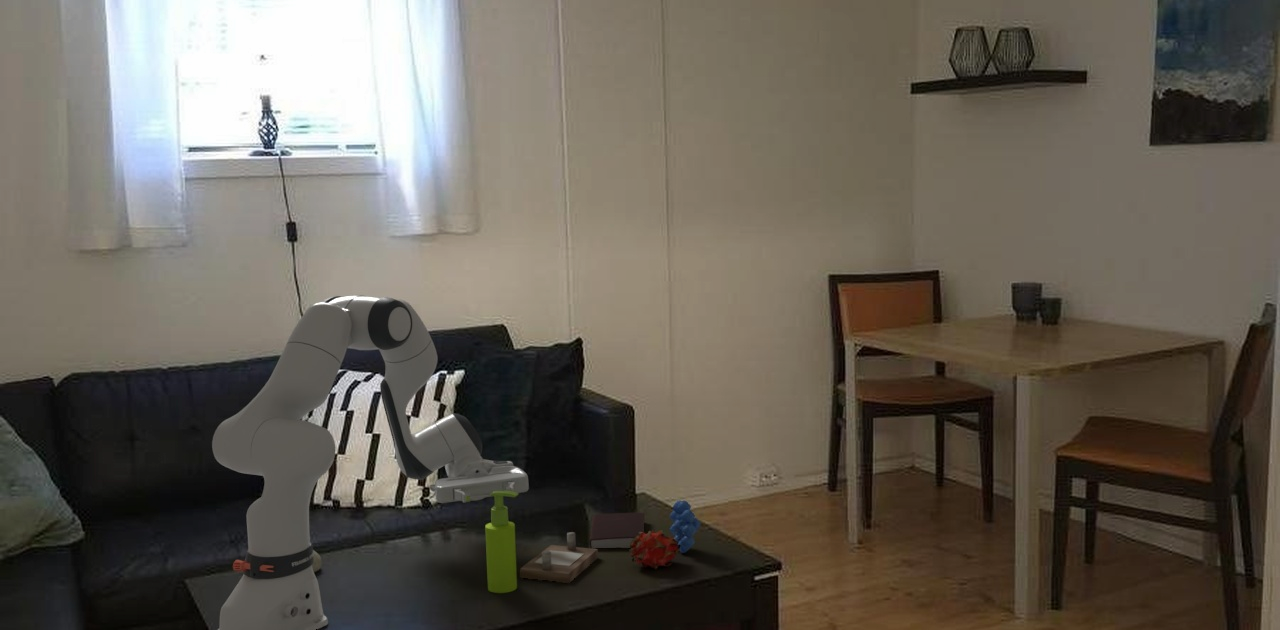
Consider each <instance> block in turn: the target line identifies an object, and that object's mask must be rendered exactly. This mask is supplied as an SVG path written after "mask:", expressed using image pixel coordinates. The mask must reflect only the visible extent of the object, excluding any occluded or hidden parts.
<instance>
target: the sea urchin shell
mask: <svg viewBox="0 0 1280 630" xmlns="http://www.w3.org/2000/svg"><path fill="white" fill-rule="evenodd" d="M313 551H314V555H313V558H314V562H313V564H312V568H313V571H314V573H316V572H317V571H319V570H320V568H322V564H323V563H322V562H323V561H322V557H321V555H320V554H319V553H318V552H317V551H315V550H314V549H313Z"/></svg>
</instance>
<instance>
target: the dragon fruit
mask: <svg viewBox="0 0 1280 630" xmlns="http://www.w3.org/2000/svg"><path fill="white" fill-rule="evenodd" d="M638 534H640V536H635V537H634V540H632V541H631V542H630V543H629V544H630V548H631V549H628V552H629V554H630V556H631V557H632V559H631V561H632V563H634V564H640V563H641V567H642V568H644V567H645V569H646V568H647V567H650V568H652V569H654V570H656V569H658V567H662V566H663V567H667V568H668V567H670V566H671V565H672V564H673V561H671V560H673V559H674V558H675V557H676V556H677V554H678V553H679V552H680V551H679V550H680V545H678V543H679V542H678V541H677V540H676V539H674V537H672V536H668V535H665V533H664V530H659V531H658V532H654V529H651V530H648V531H647V532H645V533H643V532H639V533H638Z"/></svg>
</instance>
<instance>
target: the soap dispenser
mask: <svg viewBox="0 0 1280 630" xmlns="http://www.w3.org/2000/svg"><path fill="white" fill-rule="evenodd" d="M519 494H520V493H516V492H513V491H493V492H492V493H491V497H494V505H493V506H492V507H491V508H490V519H491V522H488V523H486V524H485V525H484V526H485V527H484V533H485V549H486V552H485V553H486V574H487V575H486V577H487V590H488V591H489V592H491V593H494V594H507V593H511V592H514V591H516V589H517V588H518V578H517V576H518V575H517V574H518V573H517V551H516V525H515V523H514V522H513V521H509V509H508V507H507V506H506V505H504V497H507V496H508V498H509V497H510V498H514V499H515V498H516V497H517V496H519Z"/></svg>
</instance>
